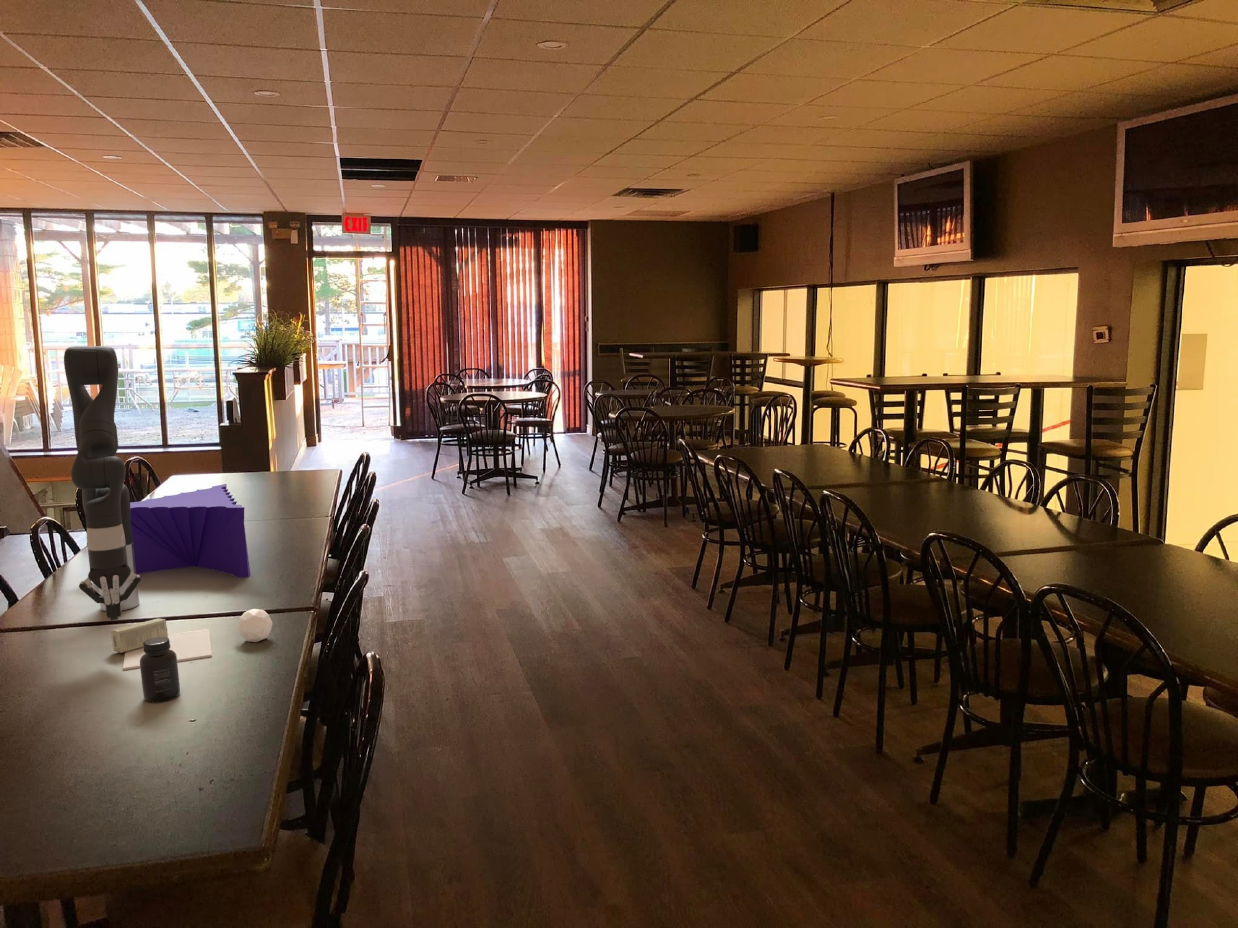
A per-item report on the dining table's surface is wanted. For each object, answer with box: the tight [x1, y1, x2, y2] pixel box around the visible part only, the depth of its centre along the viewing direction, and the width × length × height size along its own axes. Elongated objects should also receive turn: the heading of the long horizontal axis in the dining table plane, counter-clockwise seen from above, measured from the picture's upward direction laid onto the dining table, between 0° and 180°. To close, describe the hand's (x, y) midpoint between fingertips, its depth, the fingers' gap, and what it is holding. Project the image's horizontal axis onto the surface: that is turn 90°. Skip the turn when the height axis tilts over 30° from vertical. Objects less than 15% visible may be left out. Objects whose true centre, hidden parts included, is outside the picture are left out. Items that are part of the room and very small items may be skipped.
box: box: [110, 617, 169, 654], centre depth 220 cm, size 5×4×11 cm
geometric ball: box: [236, 608, 273, 643], centre depth 224 cm, size 8×8×8 cm
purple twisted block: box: [130, 483, 251, 579], centre depth 296 cm, size 40×45×21 cm
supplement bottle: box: [139, 637, 181, 703], centre depth 191 cm, size 7×7×12 cm
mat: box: [122, 628, 213, 671], centre depth 219 cm, size 20×18×1 cm
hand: (114, 618), depth 213 cm, fingers closed
